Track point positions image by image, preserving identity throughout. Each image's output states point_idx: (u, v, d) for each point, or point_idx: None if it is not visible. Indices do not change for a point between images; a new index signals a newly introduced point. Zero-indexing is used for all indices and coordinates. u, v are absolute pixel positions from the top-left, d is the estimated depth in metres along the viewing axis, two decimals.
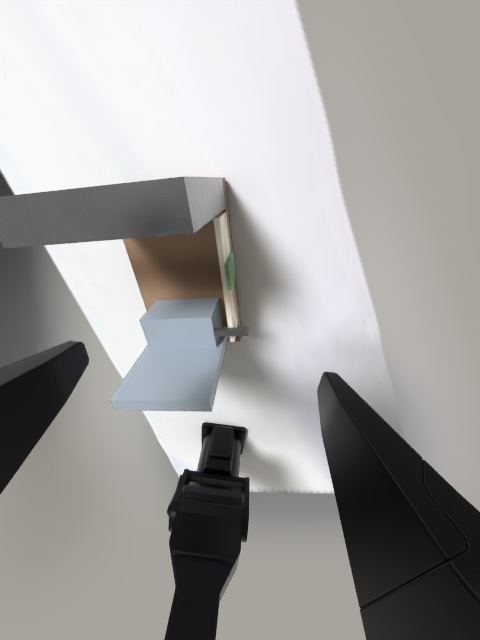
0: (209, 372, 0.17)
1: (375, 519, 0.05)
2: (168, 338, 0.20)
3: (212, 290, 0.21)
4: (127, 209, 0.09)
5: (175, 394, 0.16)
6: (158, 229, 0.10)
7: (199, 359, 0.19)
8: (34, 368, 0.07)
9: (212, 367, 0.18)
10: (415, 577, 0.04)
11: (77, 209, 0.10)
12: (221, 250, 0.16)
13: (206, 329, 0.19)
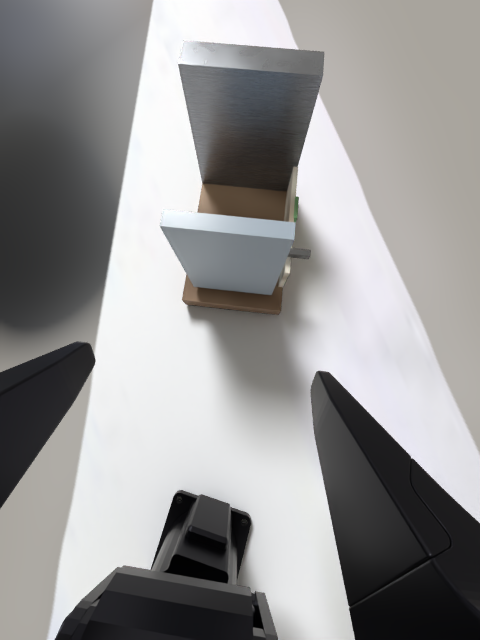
0: None
1: (363, 517, 0.05)
2: None
3: None
4: (282, 58, 0.15)
5: None
6: (299, 70, 0.14)
7: None
8: (43, 369, 0.07)
9: None
10: (400, 575, 0.04)
11: (249, 54, 0.15)
12: (294, 187, 0.20)
13: None
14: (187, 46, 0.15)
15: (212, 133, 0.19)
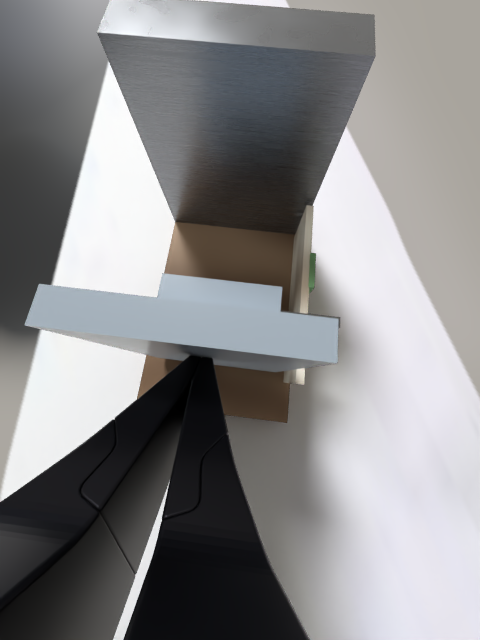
0: None
1: None
2: None
3: None
4: (296, 26, 0.08)
5: None
6: (328, 46, 0.07)
7: None
8: (183, 387, 0.07)
9: None
10: None
11: (233, 17, 0.08)
12: (309, 237, 0.13)
13: (268, 306, 0.11)
14: (118, 4, 0.08)
15: (179, 156, 0.12)
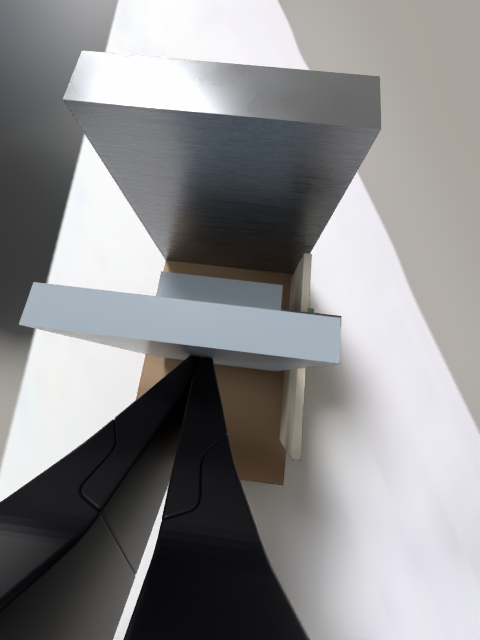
0: None
1: None
2: None
3: (257, 372, 0.14)
4: (290, 91, 0.07)
5: None
6: (327, 117, 0.06)
7: None
8: (183, 387, 0.07)
9: None
10: None
11: (219, 80, 0.07)
12: (307, 290, 0.12)
13: (268, 305, 0.11)
14: (88, 63, 0.07)
15: (165, 208, 0.11)
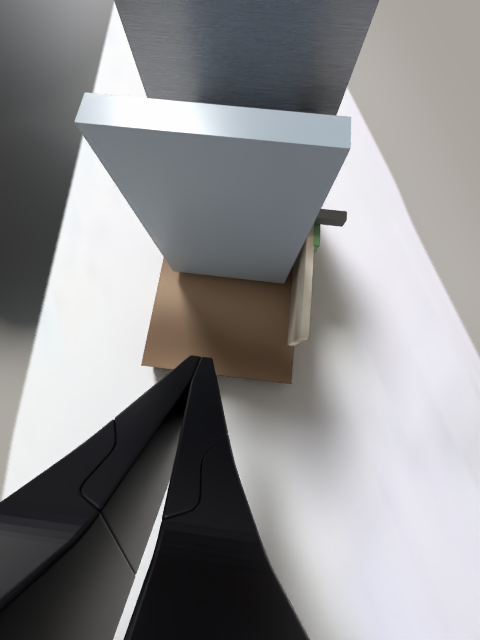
0: None
1: None
2: None
3: (266, 287, 0.15)
4: None
5: None
6: None
7: None
8: (183, 387, 0.07)
9: None
10: None
11: None
12: None
13: None
14: None
15: None
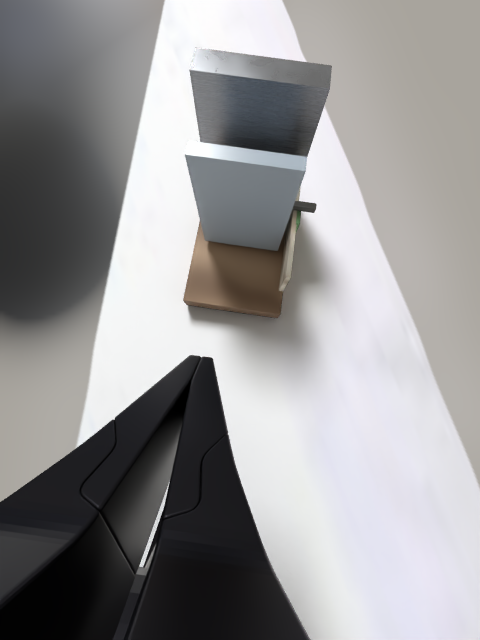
0: None
1: None
2: None
3: (265, 253, 0.23)
4: (291, 70, 0.15)
5: None
6: (306, 82, 0.15)
7: None
8: (183, 387, 0.07)
9: None
10: None
11: (259, 64, 0.15)
12: (298, 194, 0.20)
13: None
14: (199, 53, 0.15)
15: (219, 138, 0.19)
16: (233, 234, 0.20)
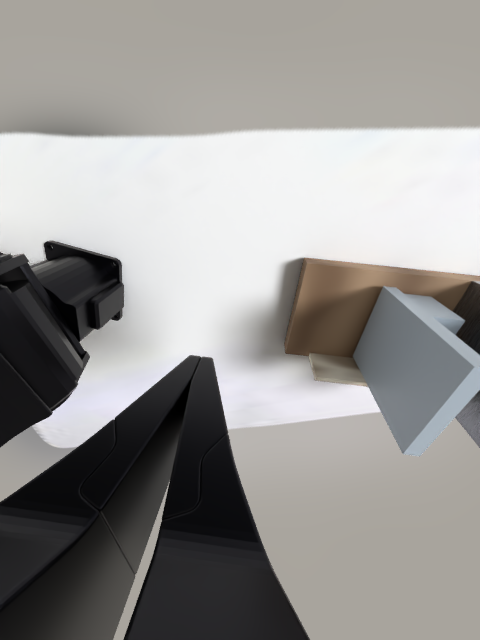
0: None
1: None
2: None
3: (352, 343, 0.21)
4: None
5: None
6: None
7: None
8: (183, 387, 0.07)
9: None
10: None
11: None
12: None
13: None
14: None
15: None
16: (378, 328, 0.18)
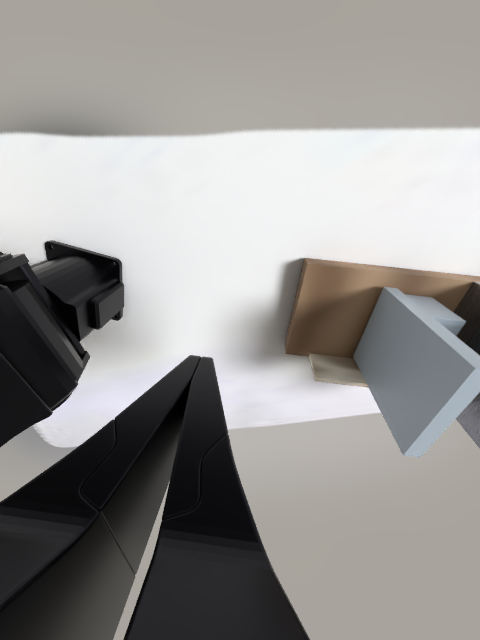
0: None
1: None
2: None
3: (352, 344, 0.21)
4: None
5: None
6: None
7: None
8: (183, 387, 0.07)
9: None
10: None
11: None
12: None
13: None
14: None
15: None
16: (378, 328, 0.18)
